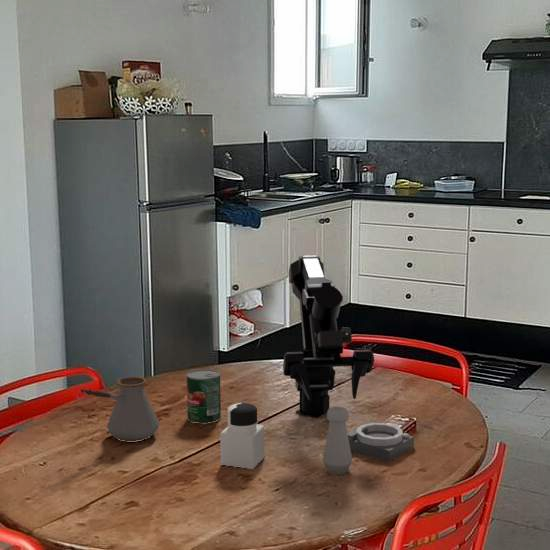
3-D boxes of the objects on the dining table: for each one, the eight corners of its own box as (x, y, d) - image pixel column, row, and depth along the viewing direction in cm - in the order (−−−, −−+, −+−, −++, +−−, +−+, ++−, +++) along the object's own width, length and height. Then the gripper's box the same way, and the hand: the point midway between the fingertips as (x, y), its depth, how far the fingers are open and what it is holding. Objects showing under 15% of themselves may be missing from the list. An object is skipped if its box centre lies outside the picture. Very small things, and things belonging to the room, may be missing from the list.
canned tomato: (181, 422, 199) (180, 376, 197) (196, 411, 207) (195, 367, 205) (212, 426, 196) (211, 380, 194) (226, 415, 204) (226, 371, 202)
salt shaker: (350, 477, 168) (350, 414, 165) (321, 475, 169) (321, 412, 167) (353, 466, 173) (354, 404, 171) (325, 463, 174) (325, 402, 172)
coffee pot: (131, 424, 198) (129, 361, 195) (170, 433, 192) (168, 369, 189) (63, 454, 180) (59, 385, 178) (102, 465, 174) (99, 395, 172)
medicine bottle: (265, 457, 178) (264, 402, 176) (253, 470, 172) (252, 413, 169) (233, 453, 180) (232, 398, 178) (220, 466, 174) (219, 409, 172)
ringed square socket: (344, 449, 182) (344, 431, 181) (369, 436, 190) (370, 419, 189) (389, 462, 175) (389, 443, 174) (413, 447, 183) (414, 429, 182)
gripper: (284, 314, 177) (290, 382, 168) (373, 312, 179) (383, 378, 170) (280, 342, 186) (286, 407, 177) (365, 339, 188) (375, 404, 179)
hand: (332, 399), depth 175 cm, fingers open, 9 cm apart
